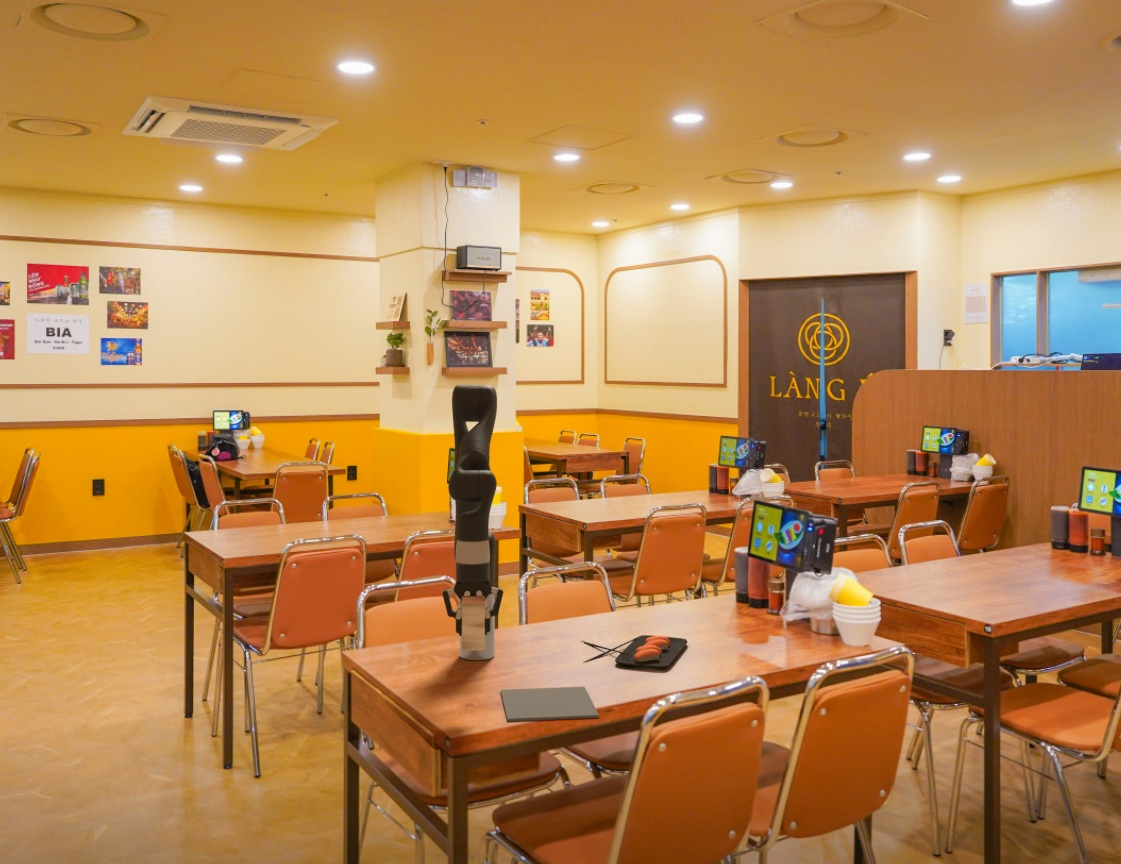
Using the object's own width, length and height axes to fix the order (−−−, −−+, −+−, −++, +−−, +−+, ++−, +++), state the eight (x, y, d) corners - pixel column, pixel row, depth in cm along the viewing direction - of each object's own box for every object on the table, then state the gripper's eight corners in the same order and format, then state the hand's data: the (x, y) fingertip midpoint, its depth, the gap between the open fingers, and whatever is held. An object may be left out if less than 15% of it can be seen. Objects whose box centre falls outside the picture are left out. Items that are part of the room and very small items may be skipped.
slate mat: (500, 692, 231) (500, 689, 231) (584, 688, 233) (584, 686, 233) (507, 721, 211) (507, 718, 211) (598, 717, 213) (598, 714, 213)
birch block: (461, 644, 221) (461, 592, 220) (483, 643, 222) (483, 591, 221) (462, 650, 216) (462, 597, 216) (484, 650, 217) (484, 596, 216)
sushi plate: (667, 674, 247) (667, 659, 246) (554, 663, 256) (554, 648, 256) (689, 645, 274) (690, 632, 274) (587, 636, 284) (587, 623, 284)
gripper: (503, 555, 223) (503, 629, 224) (440, 556, 221) (440, 631, 222) (506, 562, 215) (506, 638, 216) (440, 563, 213) (440, 640, 214)
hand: (472, 634), depth 219 cm, fingers closed on birch block, 5 cm apart
